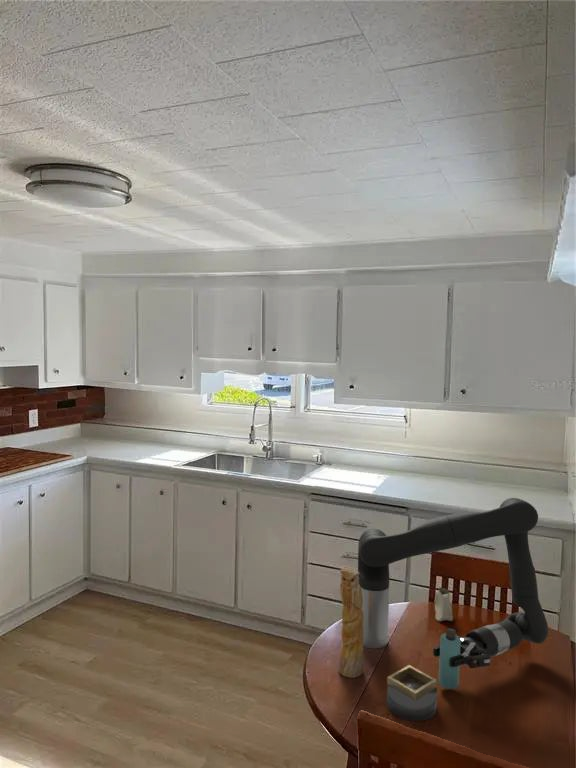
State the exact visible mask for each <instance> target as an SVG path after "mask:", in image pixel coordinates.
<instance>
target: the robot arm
mask: <svg viewBox="0 0 576 768" xmlns="http://www.w3.org/2000/svg"><path fill="white" fill-rule="evenodd" d="M538 521H539V513H538V511H537V509H536V508H535V507H534V506H533V505H532V504H531V503H529V502H528V501H525V500H523V499H521V498H517V497H510V498H506V499H505V500H504V501H502V502H501V504H500V506H499V507H497V508H493V509H491V510H486V511H481V512H478V511H477V512H463V513H462V512H461V513H452V514H446V515H442V516H438V517H434V518H431V519H428V520H425V521H423V522H421V523H420V524H418V525H417V526H414V527H413V528H411V529H409V530H407V531H405V532H400V533H397V534H396V533H395V534H390V535H387V534H386V533H385V532H383V530H381V529H378V528H369V529H367V530H365V531H364V532H363V533H362V534H361V535H360V537H359V539H358V544H357V546H358V549H357V551H358V552H357V572H359V573H360V574H359V575H358V577H359V585H360V587H361V590H362V597H363V604H362V609H361V610H362V611H363V613H364V618H363V648H369V649H381V648H385V646H387V645H388V641H389V638H388V637H389V611H390V610H389V607H390V605H389V604H390V564H393V563H396V562H398V561H402V560H405V559H408V558H412V557H416V556H422V555H426V554H431V553H435V552H441V551H445V550H449V549H454V548H458V547H462V546H466V545H469V544H474V543H476V542H479V541H484V540H485V539H490V538H495V537H501V536H504V539H505V545H506V550H507V558H508V566H509V579H510V588H511V589H510V590H511V599H512V603H513V604H514V605H515V606H517V607H519V608H520V609H522V610H523V612H517V611H516V612H513V613H511V614H510V615H508V616H507V617H506V618H505V619H503V620H502V621H500V622H496V623H494V624H487V625H485V626H481V627H479V628H476V629H472V630H470V631H469V632H468V633H467V634H466V635H465V636H459V637H460V639H461V646H460V655H458V656H454V657H452V658H450V660H449V666H450V667H457V666H459V667H460V666H467V665H468V667H469V668H470V669H476V668H482V667H489V666H490V665H491V658H493V657H496V656H498V655H499V656H500V655H502V654H503V653H505V652H506V651H509V650H512V649H514V648H517V647H518V646H520V644H521V643H522V641H523V640H524V641H526V642H530V643H533V644H537V645H538V644H542V643H544V642H545V641H546V640H547V638H548V635H549V625H548V622H547V619H546V615H545V612H544V610H543V608H542V605H541V603H540V599H539V592H538V591H539V590H538V580H537V575H536V570H535V566H534V562H533V559H532V556H531V551H530V547H529V546H530V545H529V535H528V534H529V532H530V531H532V530H533V529H534V528H535V527H536V526H537V524H538ZM432 653H433V655H432V656H434V657H436V658H437V657H440V644H439V645H437V646H434V647H433V651H432ZM475 661H476V662H475Z"/></svg>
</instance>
